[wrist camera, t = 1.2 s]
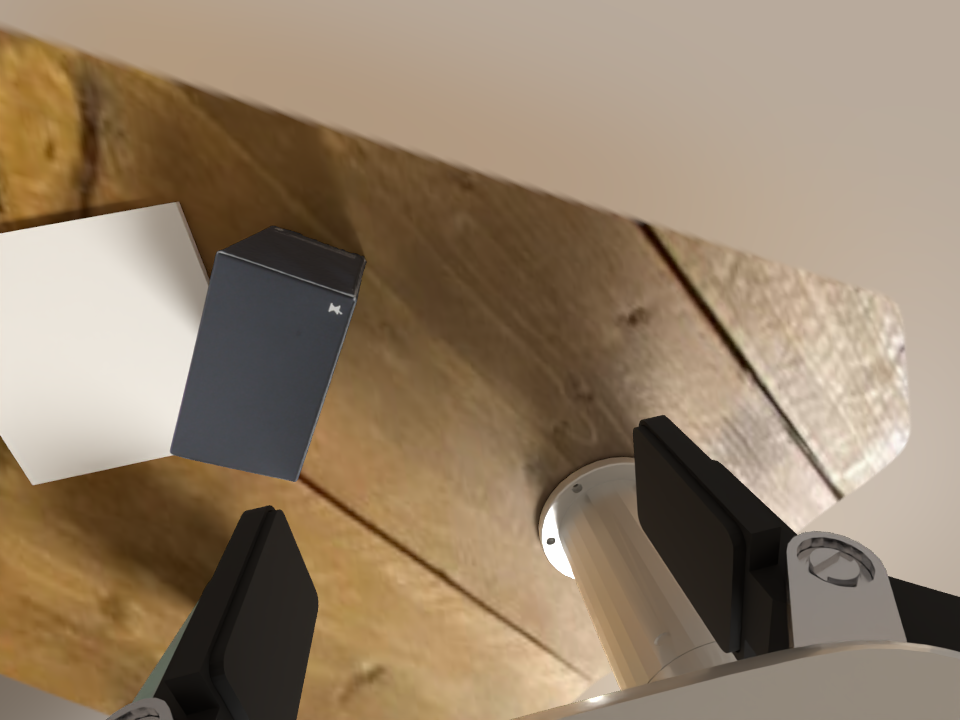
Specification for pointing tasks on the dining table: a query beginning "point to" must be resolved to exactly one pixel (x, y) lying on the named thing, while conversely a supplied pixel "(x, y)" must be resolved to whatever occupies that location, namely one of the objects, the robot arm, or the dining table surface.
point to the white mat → (97, 339)
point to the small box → (266, 352)
